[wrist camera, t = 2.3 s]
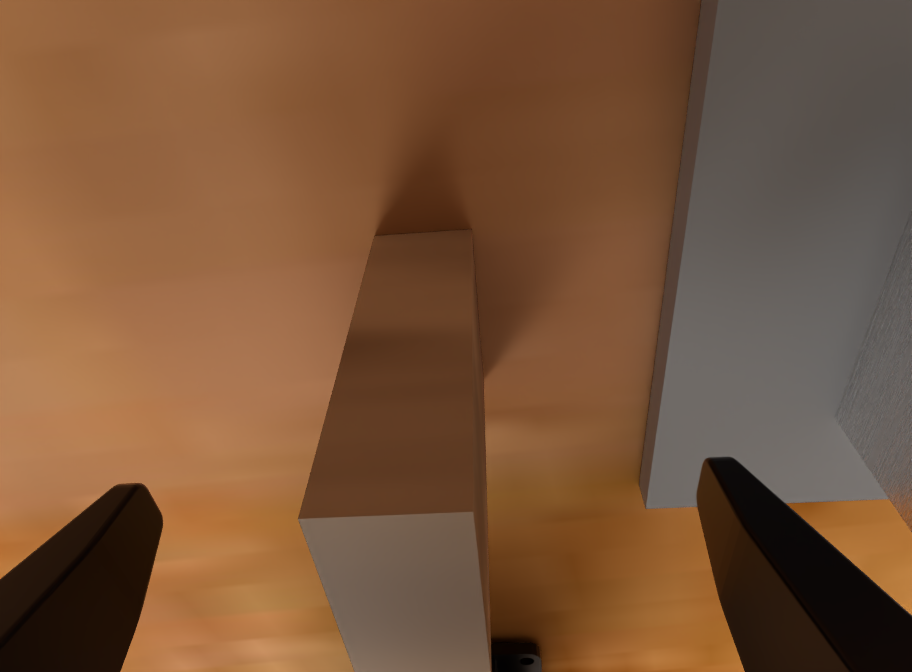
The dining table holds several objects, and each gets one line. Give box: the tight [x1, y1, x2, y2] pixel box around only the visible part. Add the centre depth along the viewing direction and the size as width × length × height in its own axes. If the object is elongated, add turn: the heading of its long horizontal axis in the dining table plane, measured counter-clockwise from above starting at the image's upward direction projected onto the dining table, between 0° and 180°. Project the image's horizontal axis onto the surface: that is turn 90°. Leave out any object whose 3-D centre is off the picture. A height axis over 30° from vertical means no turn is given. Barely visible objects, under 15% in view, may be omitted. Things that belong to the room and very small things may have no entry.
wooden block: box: [298, 229, 492, 672], centre depth 11 cm, size 4×2×7 cm, turn 5°
